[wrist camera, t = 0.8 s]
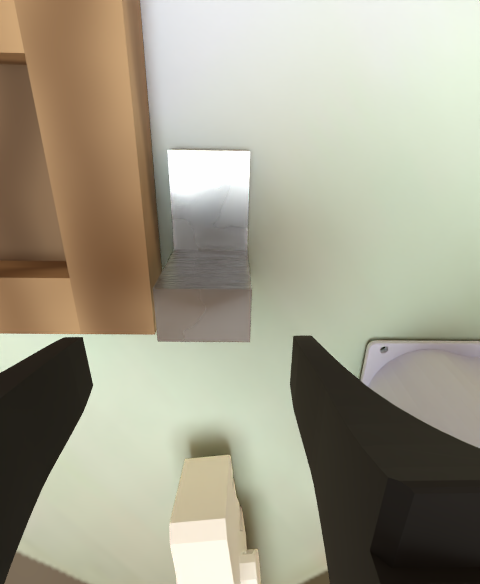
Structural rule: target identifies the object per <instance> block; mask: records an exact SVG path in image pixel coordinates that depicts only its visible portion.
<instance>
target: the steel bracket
mask: <svg viewBox="0 0 480 584" xmlns="http://www.w3.org/2000/svg"><path fill="white" fill-rule="evenodd" d="M167 151H168V166H169V182H170V197H171V213H172V228H173V243H174V250H173V252H172V254H171V256H170V258H169V259H168V261H167V263H166V265H165V267H164V269H163V270H162V272H161V274H160V276H159V278H158V280H157V282H156V283H155V285H154V287H153V297H154V308H155V318H156V328H157V339H158V341H169V342H250V327H251V296H252V288H251V278H250V269H249V260H248V211H249V172H250V151H249V150H192V149H170V150H167Z"/></svg>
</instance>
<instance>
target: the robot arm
mask: <svg viewBox="0 0 480 584" xmlns="http://www.w3.org/2000/svg"><path fill="white" fill-rule="evenodd" d="M384 346H386V347H385V349H383V350H380V349H381V348H382V347H384ZM92 387H93V383H92V378H91V374H90V369H89V365H88V360H87V355H86V351H85V346H84V342H83V337H64V338H62V339H60V340H58V341H56V342H54V343H52V344H50V345H49V346H47V347H45V348H43V349H41V350H40V351H38V352H36V353H34V354H33V355H31V356H29V357H28V358H26V359H24V360H22V361H21V362H19V363H17V364H15V365H14V366H12V367H10V368H8V369H7V370H5V371H3V372H1V373H0V584H4V583H5V580H6V577H7V574H8V572H9V569H10V566H11V563H12V561H13V558H14V555H15V553H16V550H17V548H18V545H19V543H20V540H21V538H22V535H23V533H24V530H25V528H26V525H27V523H28V520H29V518H30V515H31V513H32V511H33V508H34V506H35V504H36V502H37V499H38V497H39V495H40V492H41V490H42V488H43V486H44V484H45V482H46V480H47V478H48V476H49V474H50V472H51V470H52V468H53V466H54V465H55V463H56V461H57V459H58V457H59V456H60V454H61V452H62V450H63V448H64V446H65V445H66V443H67V441H68V439H69V437H70V436H71V434H72V432H73V430H74V428H75V426H76V425H77V423H78V421H79V419H80V417H81V415H82V413H83V411H84V409H85V406H86V404H87V401H88V399H89V396H90V393H91V390H92ZM290 387H291V394H292V401H293V408H294V413H295V416H296V420H297V424H298V427H299V431H300V434H301V438H302V442H303V445H304V449H305V452H306V456H307V459H308V463H309V467H310V470H311V474H312V479H313V483H314V488H315V494H316V499H317V505H318V511H319V516H320V523H321V529H322V535H323V541H324V547H325V553H326V560H327V566H328V573H329V579H330V584H480V341H404V340H375V341H371V342H370V343H369V344H368V345H367V349H366V354H365V359H364V364H363V369H362V374H361V379H360V380H359V379H358V378H356V377H355V376H354V375H353V374H352V373H350V372H349V371H348V370H347V369H346V368H345V367H343V366H342V365H341V364H340V363H339V362H338V361H337V360H336V359H335V358H334V357H333V356H332V355H330V354H329V353H328V352H327V351H326V350H325V349H324V348H323V347H322V346H321V345H320V344H319V343H318V342H317V341H316V340H315V339H314V338H313V337H312V336H294V337H293V350H292V364H291V378H290Z"/></svg>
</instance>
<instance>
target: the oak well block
mask: <svg viewBox="0 0 480 584" xmlns="http://www.w3.org/2000/svg"><path fill="white" fill-rule="evenodd" d="M161 272H162V266H161V254H160V241H159V229H158V217H157V205H156V193H155V180H154V168H153V156H152V144H151V131H150V119H149V107H148V95H147V83H146V70H145V58H144V46H143V34H142V22H141V9H140V0H0V333H17V334H155V333H156V330H157V328H156V318H155V308H154V297H153V287H154V285H155V283H156V282H157V280H158V278H159V276H160V274H161Z"/></svg>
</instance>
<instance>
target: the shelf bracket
mask: <svg viewBox="0 0 480 584" xmlns="http://www.w3.org/2000/svg"><path fill="white" fill-rule="evenodd" d="M169 526H170V547H171V552H172V557H173V562H174V567H175V572H176V577H177V578H176V584H261V577H260V562H259V555H258V549H250V550H247V545H246V532H245V525H244V518H243V512H242V507H239V501H238V499H237V497H236V490H235V483H234V479H233V469H232V462H231V456H230V455H221V456H210V457H200V458H190V459H185V461H184V465H183V469H182V473H181V477H180V482H179V486H178V490H177V494H176V498H175V502H174V506H173V511H172V515H171V519H170V523H169Z"/></svg>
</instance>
